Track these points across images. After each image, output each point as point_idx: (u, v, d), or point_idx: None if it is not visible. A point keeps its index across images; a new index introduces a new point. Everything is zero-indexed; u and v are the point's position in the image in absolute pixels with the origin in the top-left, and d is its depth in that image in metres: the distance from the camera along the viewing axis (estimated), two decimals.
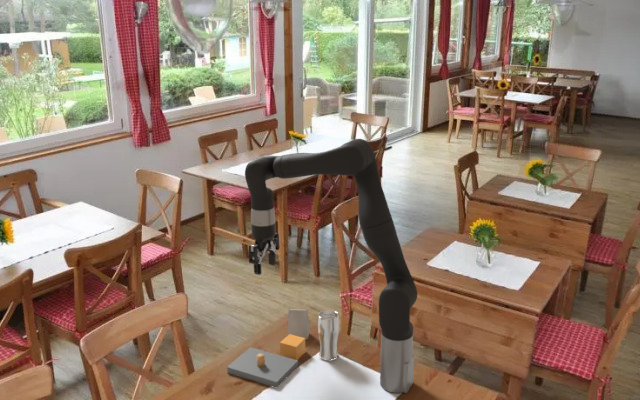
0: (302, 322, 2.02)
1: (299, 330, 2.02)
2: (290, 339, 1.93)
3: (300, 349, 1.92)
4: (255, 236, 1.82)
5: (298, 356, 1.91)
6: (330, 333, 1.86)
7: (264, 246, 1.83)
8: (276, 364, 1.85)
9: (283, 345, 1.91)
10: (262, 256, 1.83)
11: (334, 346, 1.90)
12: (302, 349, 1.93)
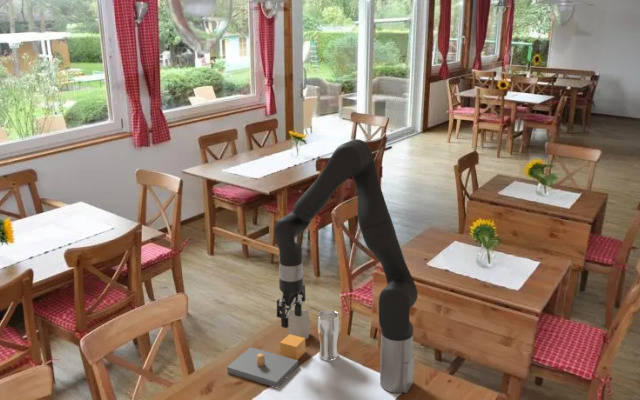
0: (302, 322, 2.02)
1: (299, 330, 2.02)
2: (290, 339, 1.93)
3: (300, 349, 1.92)
4: (283, 290, 1.84)
5: (298, 356, 1.91)
6: (330, 333, 1.86)
7: (291, 300, 1.86)
8: (276, 364, 1.85)
9: (283, 345, 1.91)
10: (289, 310, 1.85)
11: (334, 346, 1.90)
12: (302, 349, 1.93)
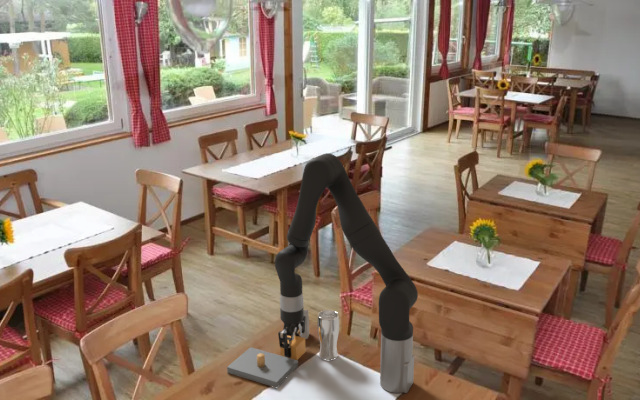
0: None
1: None
2: None
3: (300, 349, 1.92)
4: (284, 321, 1.87)
5: (298, 356, 1.91)
6: (330, 333, 1.86)
7: (292, 330, 1.89)
8: (276, 364, 1.85)
9: None
10: (292, 340, 1.89)
11: (334, 346, 1.90)
12: (302, 349, 1.93)
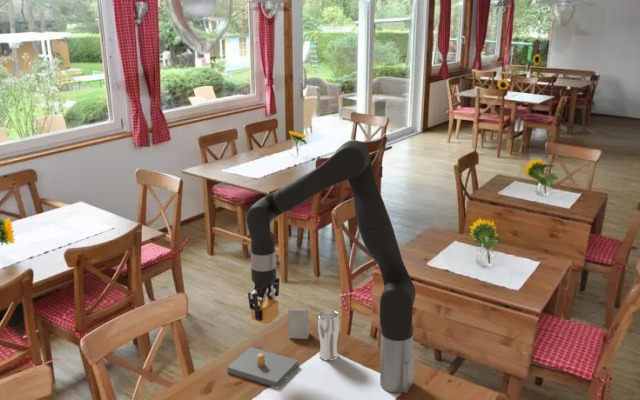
0: (302, 322, 2.02)
1: (299, 330, 2.02)
2: None
3: (272, 312, 1.80)
4: (255, 281, 1.75)
5: (270, 320, 1.79)
6: (330, 333, 1.86)
7: (264, 291, 1.77)
8: (276, 364, 1.85)
9: None
10: (263, 302, 1.77)
11: (334, 346, 1.90)
12: (274, 313, 1.81)
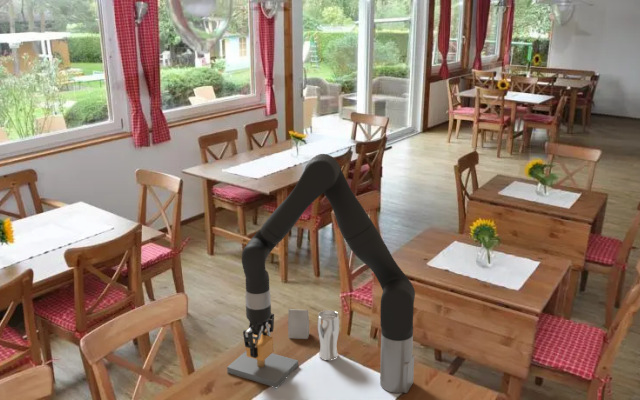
0: (302, 322, 2.02)
1: (299, 330, 2.02)
2: None
3: (267, 349, 1.81)
4: (250, 319, 1.76)
5: (265, 356, 1.80)
6: (330, 333, 1.86)
7: (259, 329, 1.78)
8: (276, 364, 1.85)
9: None
10: (258, 339, 1.78)
11: (334, 346, 1.90)
12: (269, 349, 1.82)
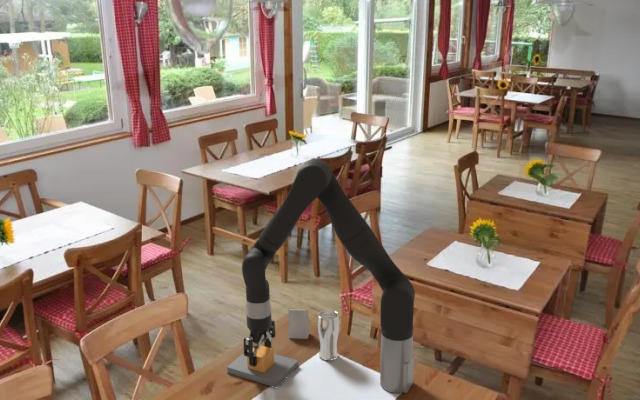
0: (302, 322, 2.02)
1: (299, 330, 2.02)
2: (258, 350, 1.83)
3: (268, 360, 1.82)
4: (250, 328, 1.77)
5: (266, 368, 1.81)
6: (330, 333, 1.86)
7: (259, 338, 1.78)
8: (276, 364, 1.85)
9: None
10: (257, 348, 1.78)
11: (334, 346, 1.90)
12: (270, 360, 1.83)
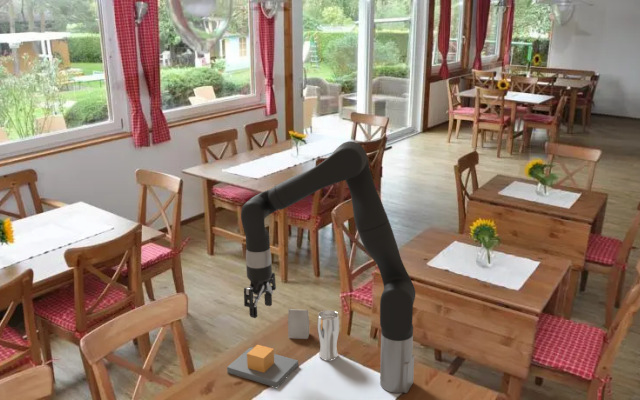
0: (302, 322, 2.02)
1: (299, 330, 2.02)
2: (258, 350, 1.83)
3: (268, 360, 1.82)
4: (250, 278, 1.75)
5: (266, 368, 1.81)
6: (330, 333, 1.86)
7: (260, 288, 1.76)
8: (276, 364, 1.85)
9: (250, 356, 1.81)
10: (258, 299, 1.75)
11: (334, 346, 1.90)
12: (270, 360, 1.83)
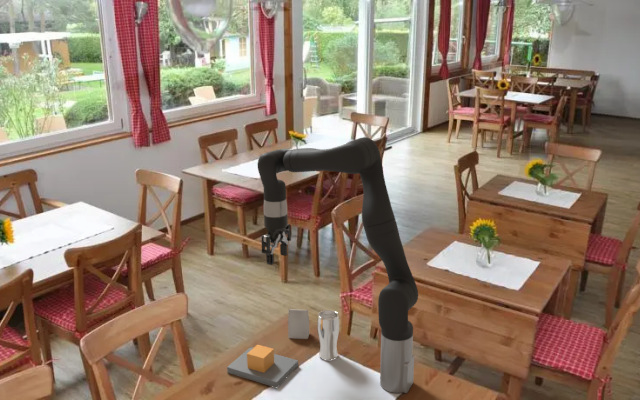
0: (302, 322, 2.02)
1: (299, 330, 2.02)
2: (258, 350, 1.83)
3: (268, 360, 1.82)
4: (268, 227, 1.87)
5: (266, 368, 1.81)
6: (330, 333, 1.86)
7: (276, 237, 1.88)
8: (276, 364, 1.85)
9: (250, 356, 1.81)
10: (274, 246, 1.87)
11: (334, 346, 1.90)
12: (270, 360, 1.83)
